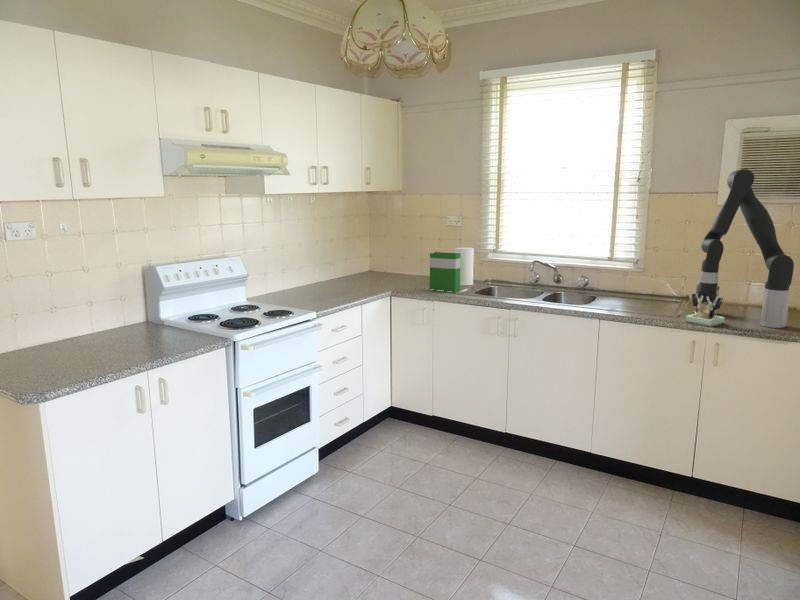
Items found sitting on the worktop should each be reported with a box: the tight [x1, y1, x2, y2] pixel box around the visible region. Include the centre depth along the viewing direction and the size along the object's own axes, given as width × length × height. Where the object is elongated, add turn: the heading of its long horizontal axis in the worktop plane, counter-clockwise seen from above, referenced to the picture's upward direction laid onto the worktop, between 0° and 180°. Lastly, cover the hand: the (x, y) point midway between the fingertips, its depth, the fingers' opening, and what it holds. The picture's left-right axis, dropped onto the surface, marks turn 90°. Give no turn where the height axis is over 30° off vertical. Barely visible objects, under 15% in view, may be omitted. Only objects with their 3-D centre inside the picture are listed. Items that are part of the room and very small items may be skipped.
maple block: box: [697, 303, 713, 319], centre depth 263 cm, size 5×5×7 cm
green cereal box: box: [429, 251, 461, 293], centre depth 351 cm, size 18×7×24 cm, turn 61°
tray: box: [684, 313, 726, 328], centre depth 264 cm, size 12×12×3 cm
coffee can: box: [693, 284, 720, 316], centre depth 283 cm, size 10×10×14 cm
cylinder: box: [454, 246, 475, 286], centre depth 372 cm, size 12×12×25 cm
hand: (705, 316), depth 264 cm, fingers closed on maple block, 4 cm apart
